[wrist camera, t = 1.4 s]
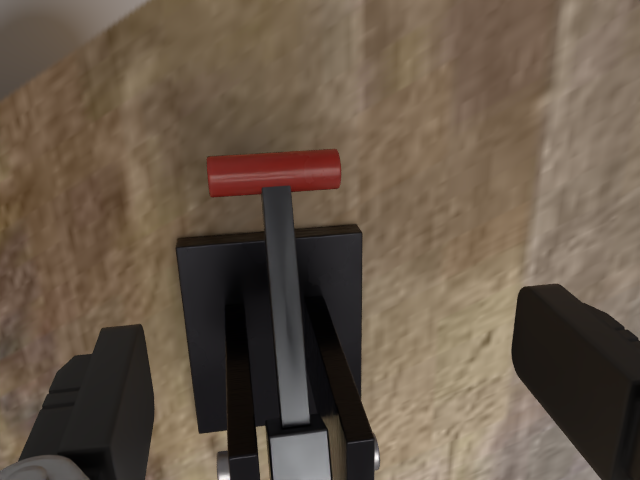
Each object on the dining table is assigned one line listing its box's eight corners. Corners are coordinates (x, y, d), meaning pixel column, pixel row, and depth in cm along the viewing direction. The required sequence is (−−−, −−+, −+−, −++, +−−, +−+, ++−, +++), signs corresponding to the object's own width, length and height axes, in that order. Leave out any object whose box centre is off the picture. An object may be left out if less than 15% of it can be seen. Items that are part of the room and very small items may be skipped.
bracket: (176, 238, 28) (152, 382, 18) (357, 223, 30) (436, 350, 19) (199, 419, 33) (190, 626, 22) (356, 400, 34) (421, 586, 23)
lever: (208, 162, 23) (205, 150, 21) (331, 154, 24) (341, 142, 22) (235, 495, 23) (234, 522, 20) (359, 478, 24) (373, 501, 21)
